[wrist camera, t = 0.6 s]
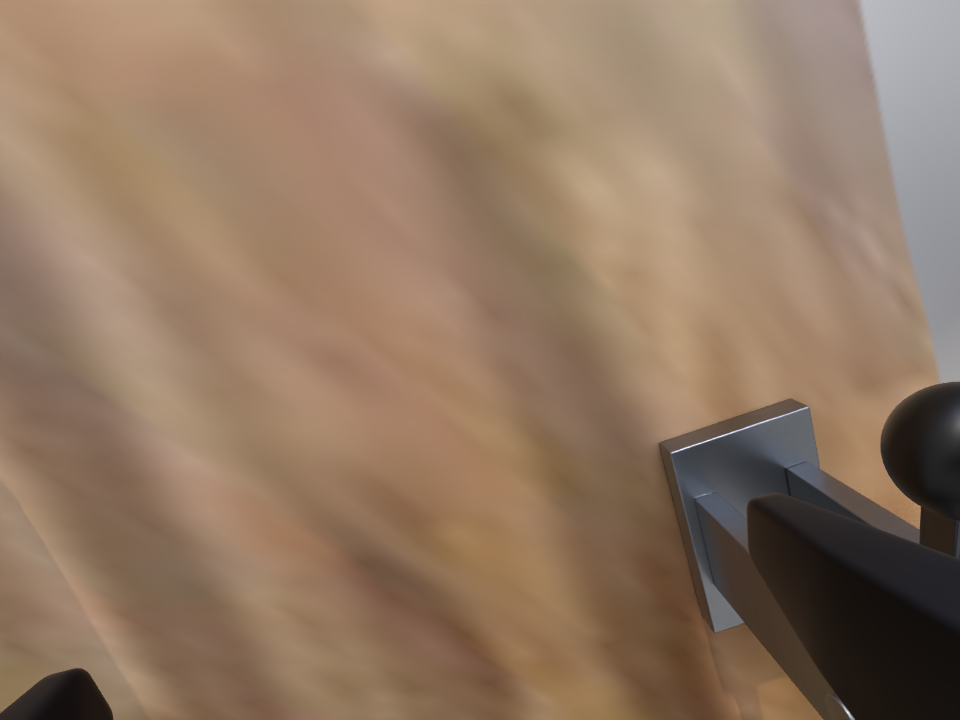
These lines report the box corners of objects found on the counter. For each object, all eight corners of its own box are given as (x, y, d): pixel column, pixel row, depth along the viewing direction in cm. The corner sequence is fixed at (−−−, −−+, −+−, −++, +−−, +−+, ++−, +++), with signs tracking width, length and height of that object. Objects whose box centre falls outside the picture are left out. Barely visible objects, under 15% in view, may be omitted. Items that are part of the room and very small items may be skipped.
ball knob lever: (848, 384, 13) (970, 454, 10) (969, 343, 13) (1123, 401, 10) (853, 688, 18) (939, 793, 15) (944, 656, 18) (1047, 755, 15)
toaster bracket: (658, 442, 24) (870, 635, 13) (791, 397, 24) (1120, 548, 13) (701, 616, 26) (916, 914, 15) (823, 574, 26) (1129, 837, 15)
